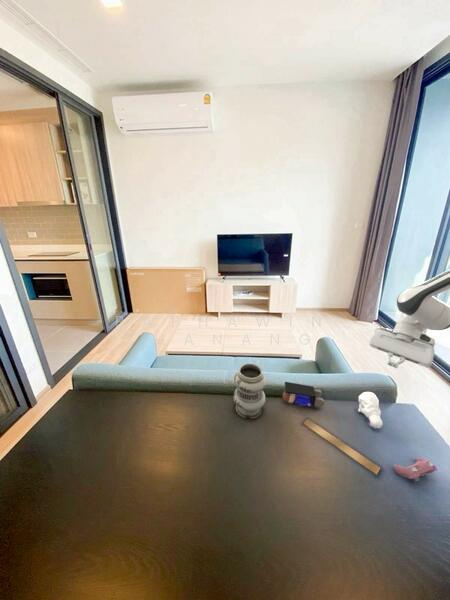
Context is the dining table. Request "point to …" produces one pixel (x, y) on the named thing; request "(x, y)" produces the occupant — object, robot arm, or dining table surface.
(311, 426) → the brass ruler
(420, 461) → the pink animal figurine
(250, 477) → the dining table surface
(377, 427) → the white sculpture
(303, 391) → the dark block with discs
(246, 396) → the apothecary jar
